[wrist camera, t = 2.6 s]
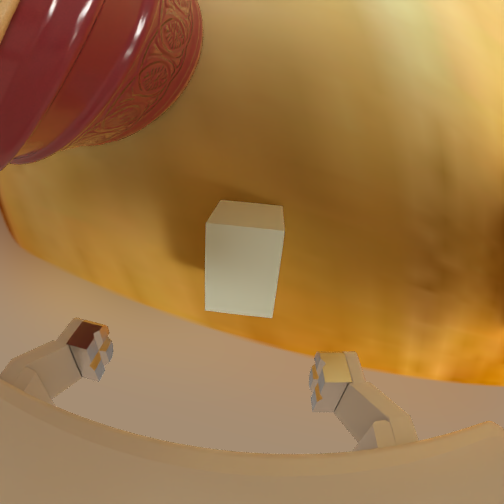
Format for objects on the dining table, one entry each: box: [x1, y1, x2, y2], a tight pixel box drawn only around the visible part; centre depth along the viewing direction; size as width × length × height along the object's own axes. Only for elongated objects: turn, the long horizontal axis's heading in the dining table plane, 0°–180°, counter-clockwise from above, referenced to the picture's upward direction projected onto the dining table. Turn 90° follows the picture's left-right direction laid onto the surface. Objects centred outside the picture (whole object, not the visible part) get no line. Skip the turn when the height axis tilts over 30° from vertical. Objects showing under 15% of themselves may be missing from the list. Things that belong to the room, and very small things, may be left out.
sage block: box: [205, 200, 285, 318], centre depth 18 cm, size 4×6×4 cm
